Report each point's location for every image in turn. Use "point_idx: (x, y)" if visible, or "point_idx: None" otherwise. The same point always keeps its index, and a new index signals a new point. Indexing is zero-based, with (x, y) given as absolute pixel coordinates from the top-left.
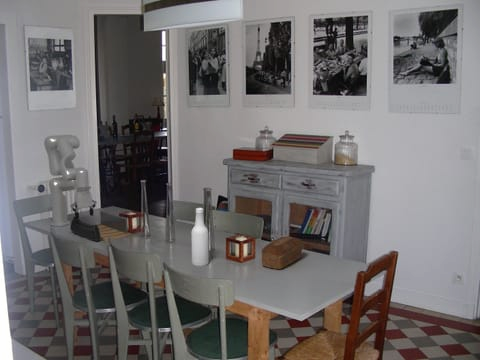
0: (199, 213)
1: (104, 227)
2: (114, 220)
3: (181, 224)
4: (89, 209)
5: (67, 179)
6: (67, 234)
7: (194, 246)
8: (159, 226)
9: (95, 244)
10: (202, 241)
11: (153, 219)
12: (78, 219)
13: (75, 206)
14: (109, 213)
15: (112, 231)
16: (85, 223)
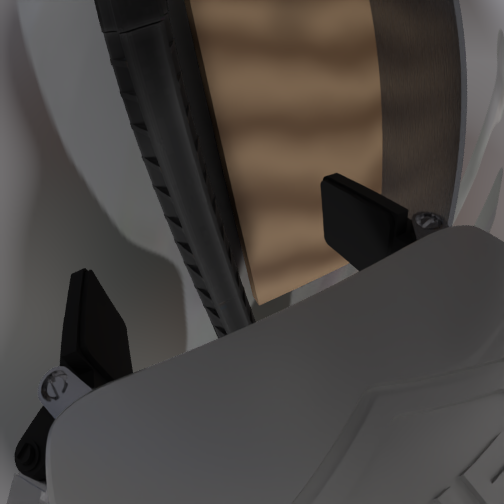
0: None
1: (356, 45)
2: (428, 143)
3: (496, 181)
4: (385, 219)
5: None
6: (58, 19)
7: None
8: (476, 165)
9: (192, 329)
10: None
11: (497, 70)
12: (155, 36)
13: (66, 427)
14: (465, 70)
15: (354, 169)
16: (198, 214)
